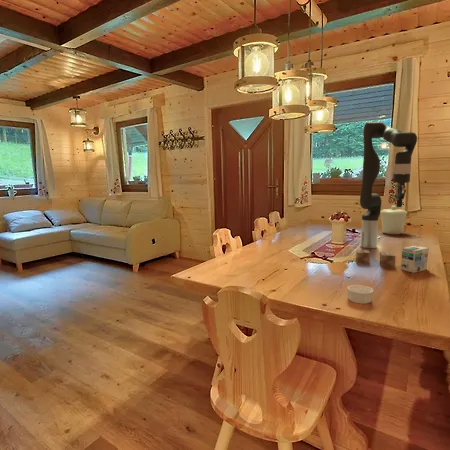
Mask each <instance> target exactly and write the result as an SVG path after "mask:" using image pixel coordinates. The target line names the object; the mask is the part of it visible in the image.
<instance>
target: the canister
mask: <svg viewBox="0 0 450 450" xmlns="http://www.w3.org/2000/svg"><path fill="white" fill-rule="evenodd" d="M408 212H409V211H406V210H404V209H399V208H398V207H397V205H391V208H384V209H381V211H380V218H381V229H382V230H381V231H382V232H383V233H384V234H387V235H401V234H402V233H403V231H404V228H405V223H406V218H407V214H408Z"/></svg>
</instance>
